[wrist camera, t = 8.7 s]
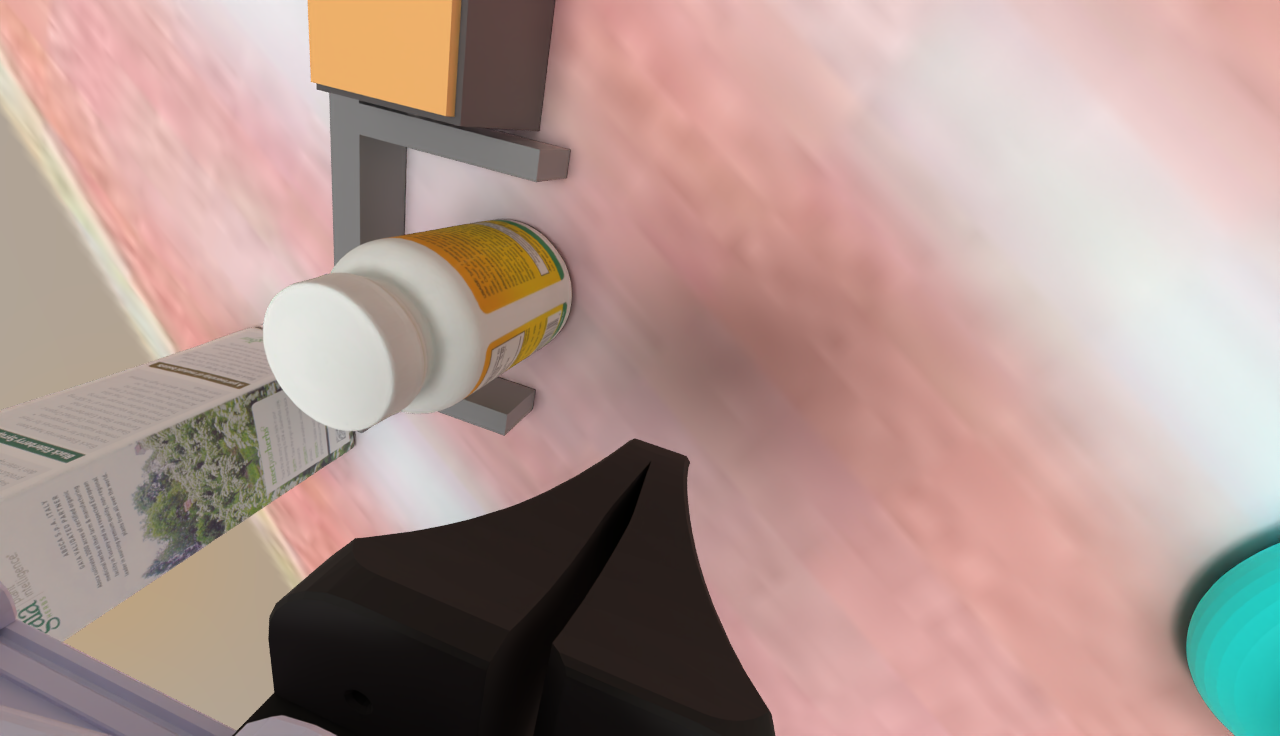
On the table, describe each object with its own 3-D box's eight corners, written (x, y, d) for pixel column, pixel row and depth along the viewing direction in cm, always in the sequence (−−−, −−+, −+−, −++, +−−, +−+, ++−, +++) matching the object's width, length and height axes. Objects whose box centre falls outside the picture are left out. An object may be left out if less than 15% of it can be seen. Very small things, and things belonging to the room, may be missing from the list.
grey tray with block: (525, 455, 25) (459, 527, 21) (378, 401, 27) (283, 457, 22) (602, -71, 17) (520, -158, 12) (381, -110, 18) (228, -202, 13)
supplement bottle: (581, 350, 22) (434, 469, 14) (468, 344, 24) (273, 448, 15) (569, 214, 21) (392, 255, 12) (447, 217, 22) (213, 254, 13)
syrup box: (251, 323, 27) (-254, 481, 14) (351, 347, 26) (-103, 545, 13) (269, 422, 30) (-152, 636, 17) (361, 449, 28) (-16, 703, 15)
